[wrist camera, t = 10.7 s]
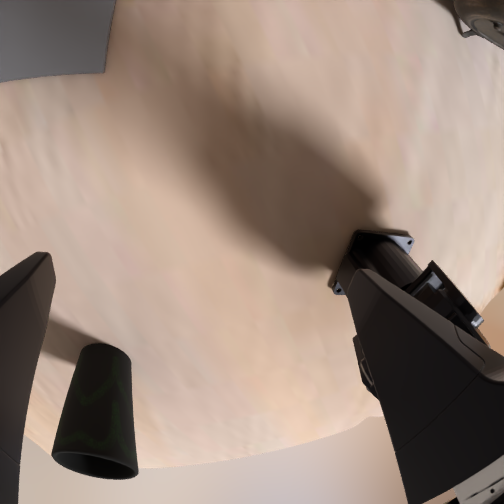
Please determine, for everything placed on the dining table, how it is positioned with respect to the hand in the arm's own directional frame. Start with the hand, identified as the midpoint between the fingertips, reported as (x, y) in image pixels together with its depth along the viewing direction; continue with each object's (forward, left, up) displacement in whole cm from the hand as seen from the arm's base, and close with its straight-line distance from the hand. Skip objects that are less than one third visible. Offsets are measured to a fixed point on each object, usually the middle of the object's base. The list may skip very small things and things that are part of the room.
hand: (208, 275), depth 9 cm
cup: (+8, +22, -13) cm, 27 cm away
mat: (+12, -10, -13) cm, 20 cm away
